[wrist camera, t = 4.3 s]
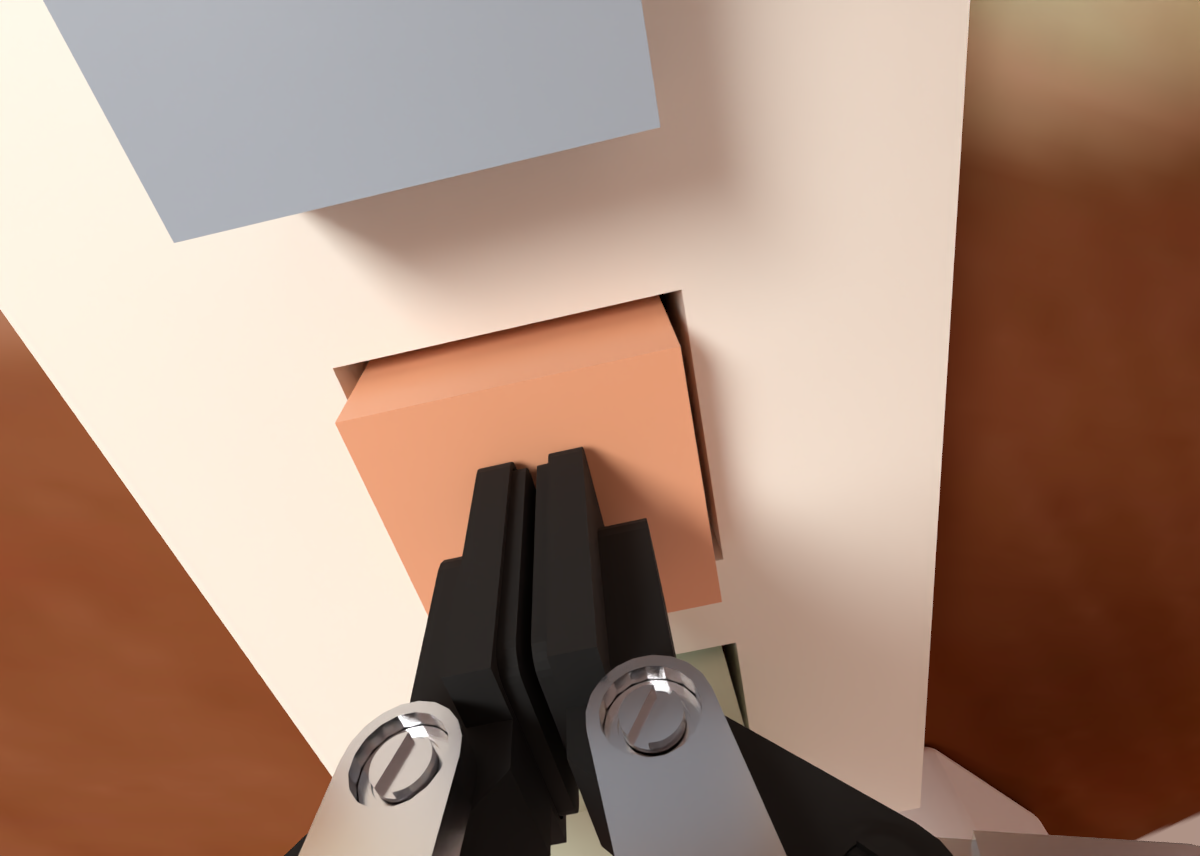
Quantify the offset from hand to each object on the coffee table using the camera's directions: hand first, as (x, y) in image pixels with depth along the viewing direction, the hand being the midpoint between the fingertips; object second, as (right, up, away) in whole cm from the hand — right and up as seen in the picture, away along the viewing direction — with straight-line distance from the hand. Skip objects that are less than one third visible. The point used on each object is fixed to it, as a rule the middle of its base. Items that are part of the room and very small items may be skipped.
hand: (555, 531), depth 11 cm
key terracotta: (0, +2, +3) cm, 4 cm away
